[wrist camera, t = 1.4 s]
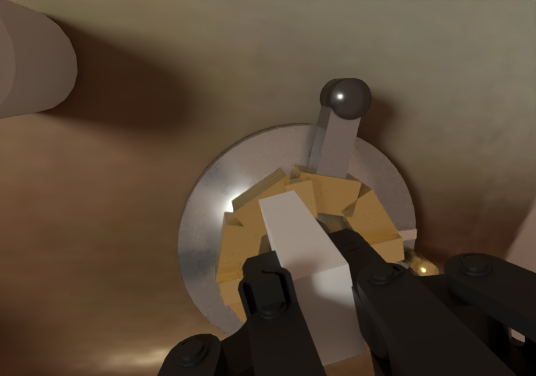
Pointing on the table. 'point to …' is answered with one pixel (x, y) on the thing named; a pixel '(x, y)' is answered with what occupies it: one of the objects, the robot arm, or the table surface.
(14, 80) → the can
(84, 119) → the table surface
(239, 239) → the ring nut
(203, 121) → the table surface
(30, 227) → the table surface
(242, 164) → the cap base
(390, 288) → the robot arm
